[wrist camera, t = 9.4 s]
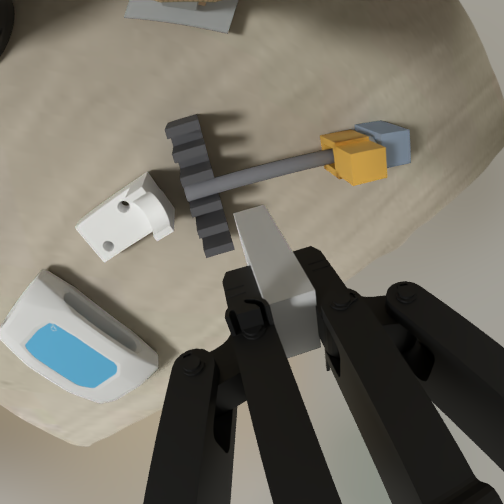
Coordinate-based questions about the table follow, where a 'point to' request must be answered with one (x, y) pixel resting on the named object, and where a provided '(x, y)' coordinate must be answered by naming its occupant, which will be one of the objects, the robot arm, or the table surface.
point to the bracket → (128, 218)
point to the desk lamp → (185, 12)
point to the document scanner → (75, 341)
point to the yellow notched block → (355, 157)
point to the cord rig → (253, 172)
